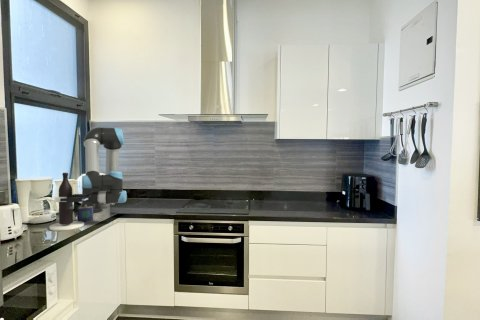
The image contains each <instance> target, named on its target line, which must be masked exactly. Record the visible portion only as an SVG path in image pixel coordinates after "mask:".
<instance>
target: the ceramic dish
mask: <svg viewBox="0 0 480 320" xmlns="http://www.w3.org/2000/svg"><path fill="white" fill-rule="evenodd" d="M84 226H85V222H81V221H78V220H73V223H71V224H65V225H61V224H59V222H56V223H52V224H51V225H49V227H48V229H49V230H50V231H54V232H66V231H74V230H77V229H82V228H83V227H84Z"/></svg>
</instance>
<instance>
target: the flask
mask: <svg viewBox="0 0 480 320" xmlns="http://www.w3.org/2000/svg"><path fill="white" fill-rule="evenodd" d="M76 210H77V212H76V213H77V221H81V222H84V223H87V222H92V221H94V213H93V207H92V206H90V207H87V205H85V206H84V207H83V208H81V206H80V207H77V209H76Z"/></svg>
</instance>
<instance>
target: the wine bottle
mask: <svg viewBox="0 0 480 320" xmlns="http://www.w3.org/2000/svg"><path fill="white" fill-rule="evenodd" d="M68 176H69V173H68V172H63V173H62V182H61V184H60V185H59V188H58V197H67V196H68V197H72V195H73V188H72V185H71V183H70V182H69V177H68ZM73 204H74V202H58V223H59V224H61V225H65V224H71V223H73V221H74V214H73V213H74V210H73V209H74V207H73Z"/></svg>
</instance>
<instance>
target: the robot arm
mask: <svg viewBox="0 0 480 320" xmlns="http://www.w3.org/2000/svg"><path fill="white" fill-rule="evenodd" d="M124 140H125V139H124V133H123V130H122V128H119V127H101V126H100V127H99V126H97V127H93V128H92V129H90V130H89V131H88V132H86V134H85V136H84V138H83V147H84V148H85V153H84V154H85V175H82V177H81V193H72V197H68V196H67V197H59V196H57V197H56V196H55V197H53V199H54V203H59V202H73V203H81V204H80V207H81V208H83V207H84V206H85V205H87V207H90V206H92V207H93V214H95V213H100V212H103V210H104V207H103V205H106V204H122V203H124V204H125V203H126V202H127V198H128V195H127V193H128V192H127V191H126V190H123V189H124V188H123V178H124V177H123V172H122V171H119V166H120V165H119V162H120V159H119V158H120V149H122V146H124V145H125V141H124ZM100 146H103V148H104V149H105V174H100V159H99V158H100V157H99V156H100V154H99V153H100V152H99V148H100Z"/></svg>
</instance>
